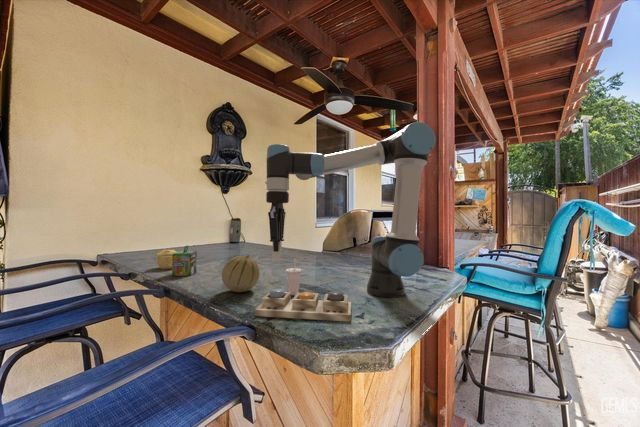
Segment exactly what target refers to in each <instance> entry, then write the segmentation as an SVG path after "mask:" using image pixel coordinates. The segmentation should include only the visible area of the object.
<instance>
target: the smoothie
mask: <svg viewBox="0 0 640 427" xmlns="http://www.w3.org/2000/svg"><path fill="white" fill-rule="evenodd" d="M296 260H297V259H296V258H294V263H293V266H294V267H291V268H286V270H285V274H286V281H287V289H288V291H287V292H291V296H295V295H296V294H297V293H299V289H300V281H301V274H302V269H301V268H298V267H296V266H297V265H296V264H297V263H296V262H297V261H296Z"/></svg>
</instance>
